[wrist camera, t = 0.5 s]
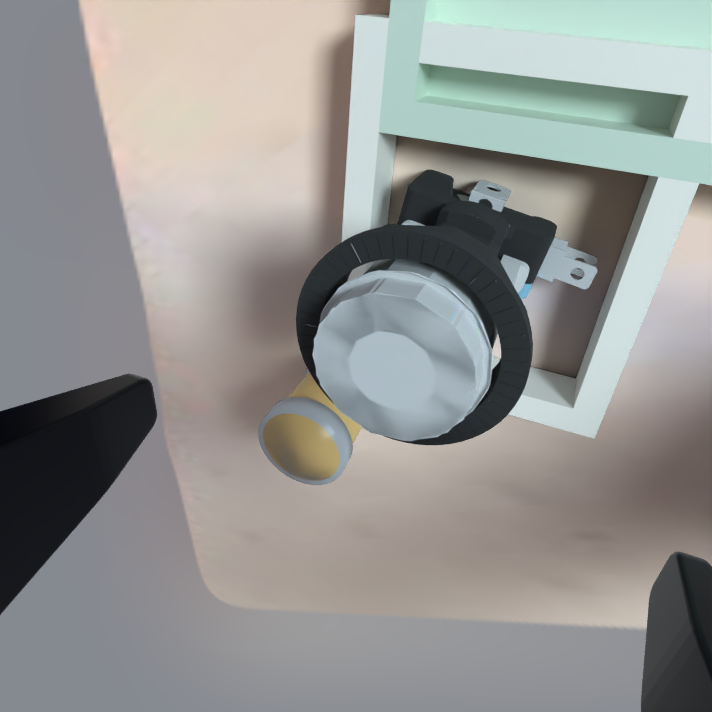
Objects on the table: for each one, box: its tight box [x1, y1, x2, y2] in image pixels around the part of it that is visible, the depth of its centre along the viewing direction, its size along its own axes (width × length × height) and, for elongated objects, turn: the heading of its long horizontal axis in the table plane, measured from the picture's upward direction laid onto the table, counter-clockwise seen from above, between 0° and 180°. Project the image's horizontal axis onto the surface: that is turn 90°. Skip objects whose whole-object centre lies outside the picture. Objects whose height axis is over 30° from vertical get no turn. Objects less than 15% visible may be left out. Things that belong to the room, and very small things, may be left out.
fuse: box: [259, 368, 362, 485], centre depth 23 cm, size 4×4×5 cm
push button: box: [296, 170, 598, 445], centre depth 15 cm, size 7×5×10 cm
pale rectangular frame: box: [342, 14, 712, 439], centre depth 19 cm, size 10×12×2 cm
